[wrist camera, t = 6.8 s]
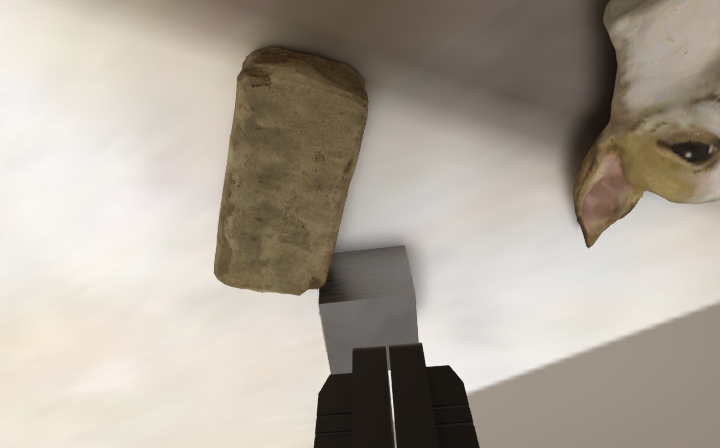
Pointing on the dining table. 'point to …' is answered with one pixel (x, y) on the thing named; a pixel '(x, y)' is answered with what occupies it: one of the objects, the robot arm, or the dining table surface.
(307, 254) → the stone block
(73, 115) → the dining table surface
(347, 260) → the charcoal block
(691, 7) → the ceramic sculpture
